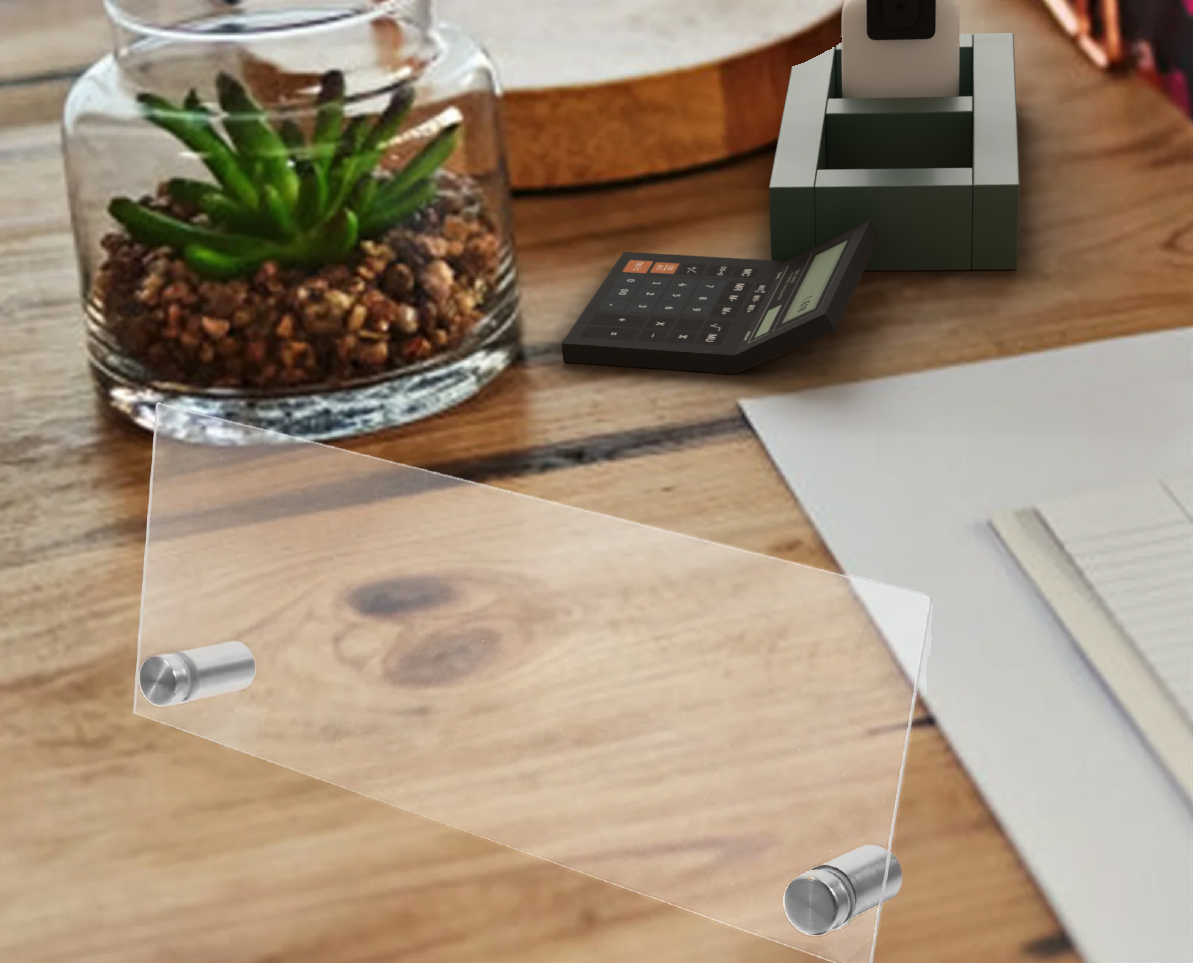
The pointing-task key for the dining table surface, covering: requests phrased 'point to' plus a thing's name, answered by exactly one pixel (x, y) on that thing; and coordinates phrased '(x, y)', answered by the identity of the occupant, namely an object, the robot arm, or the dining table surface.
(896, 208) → the rack
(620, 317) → the calculator
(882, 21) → the robot arm
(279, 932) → the dining table surface
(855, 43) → the eye dropper bottle
